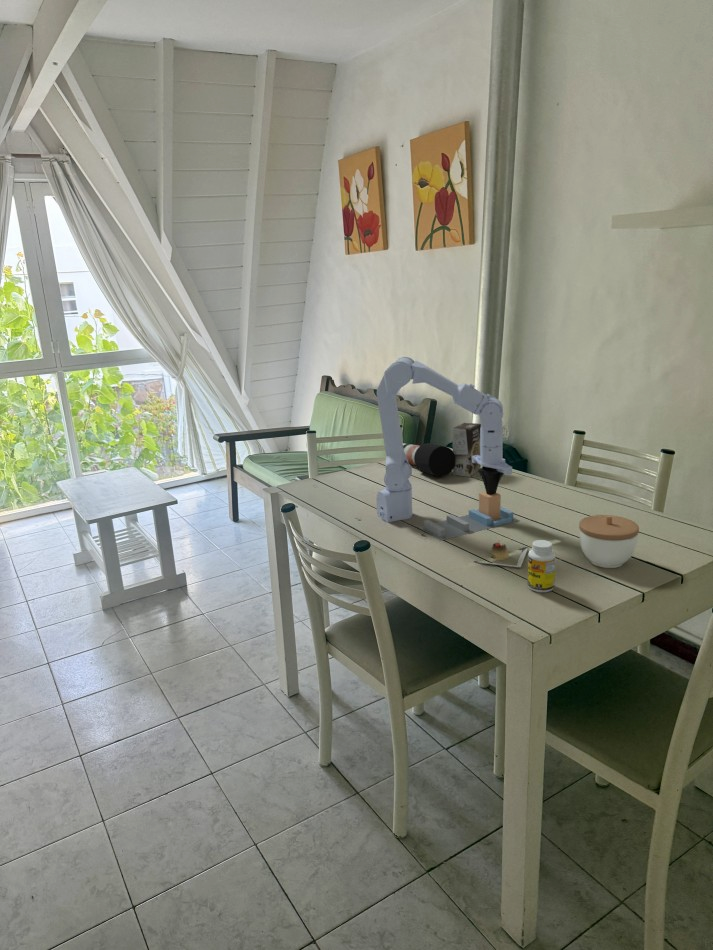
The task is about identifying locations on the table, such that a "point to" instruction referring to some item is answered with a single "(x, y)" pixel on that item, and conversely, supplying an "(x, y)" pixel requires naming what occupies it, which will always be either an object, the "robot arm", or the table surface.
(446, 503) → the table surface
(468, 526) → the grey fixture plate
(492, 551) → the dessert
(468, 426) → the coffee box
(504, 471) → the robot arm
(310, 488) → the table surface
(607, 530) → the lidded bowl
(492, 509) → the tan cardboard block
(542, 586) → the supplement bottle
